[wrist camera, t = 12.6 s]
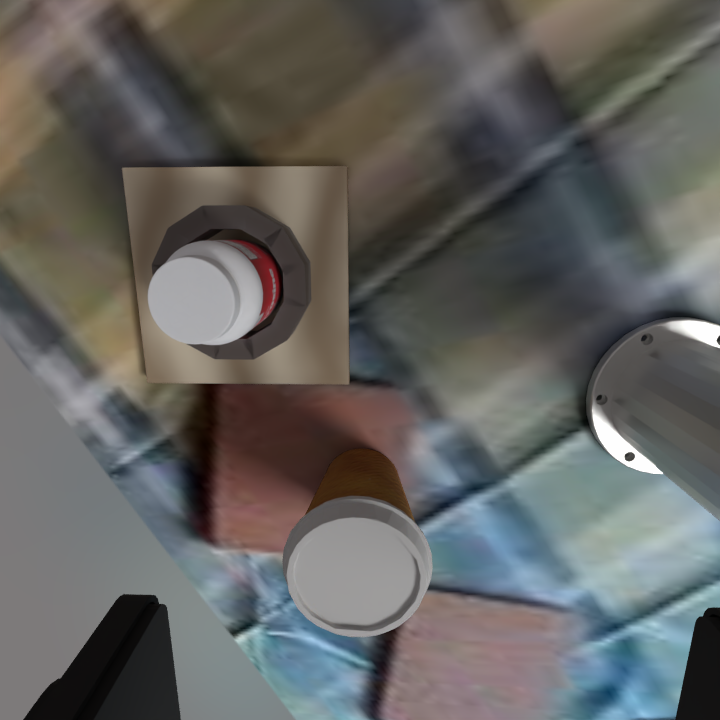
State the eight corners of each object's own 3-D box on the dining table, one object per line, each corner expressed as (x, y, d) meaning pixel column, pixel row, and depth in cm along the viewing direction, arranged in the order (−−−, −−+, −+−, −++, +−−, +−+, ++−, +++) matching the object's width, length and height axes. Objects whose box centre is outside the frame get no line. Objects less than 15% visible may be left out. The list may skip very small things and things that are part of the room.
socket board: (347, 167, 35) (344, 159, 31) (349, 380, 39) (346, 397, 35) (128, 169, 36) (98, 161, 32) (153, 379, 40) (128, 395, 36)
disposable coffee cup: (285, 495, 42) (250, 596, 30) (345, 408, 40) (332, 481, 28) (377, 550, 43) (378, 667, 31) (440, 468, 41) (466, 562, 29)
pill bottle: (264, 336, 37) (220, 378, 27) (191, 299, 37) (115, 326, 26) (299, 263, 36) (267, 276, 25) (224, 223, 35) (157, 219, 25)
